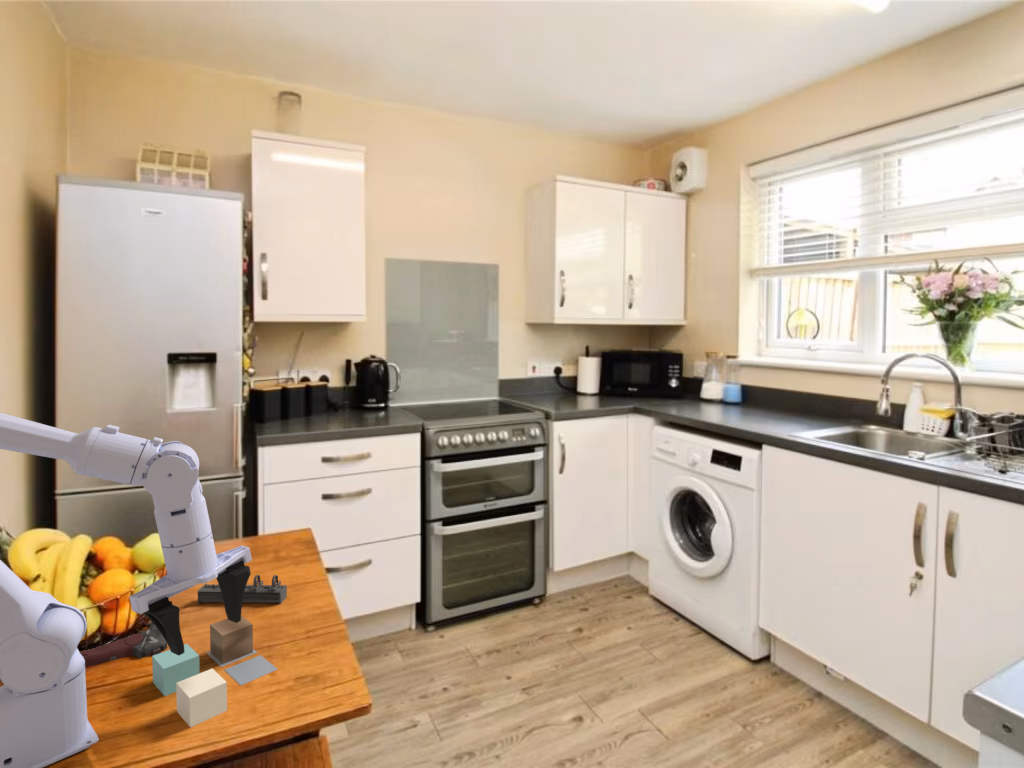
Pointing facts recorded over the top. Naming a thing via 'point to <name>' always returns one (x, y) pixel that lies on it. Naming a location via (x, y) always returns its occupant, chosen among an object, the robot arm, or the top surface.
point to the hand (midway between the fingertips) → (207, 635)
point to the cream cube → (201, 697)
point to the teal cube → (174, 668)
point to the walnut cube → (231, 639)
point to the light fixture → (247, 592)
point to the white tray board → (247, 668)
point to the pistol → (127, 647)
